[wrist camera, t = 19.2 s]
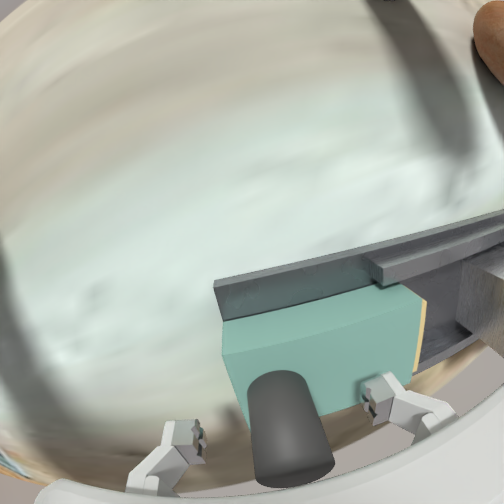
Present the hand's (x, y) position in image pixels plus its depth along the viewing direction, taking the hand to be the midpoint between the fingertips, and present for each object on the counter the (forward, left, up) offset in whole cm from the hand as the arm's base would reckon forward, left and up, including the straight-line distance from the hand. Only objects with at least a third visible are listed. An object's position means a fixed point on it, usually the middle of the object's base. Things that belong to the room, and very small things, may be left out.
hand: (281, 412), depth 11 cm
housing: (0, +17, -5) cm, 18 cm away
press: (0, +11, -6) cm, 12 cm away
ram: (0, +3, -5) cm, 6 cm away
